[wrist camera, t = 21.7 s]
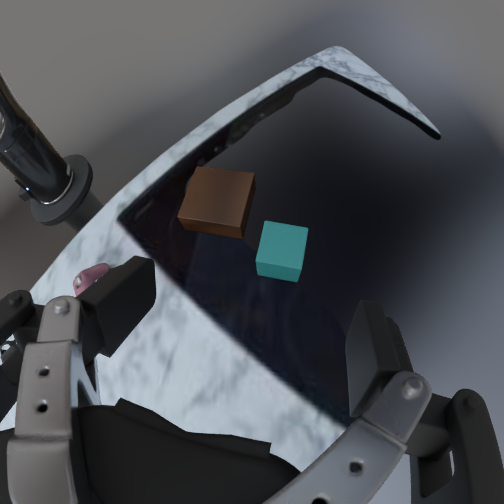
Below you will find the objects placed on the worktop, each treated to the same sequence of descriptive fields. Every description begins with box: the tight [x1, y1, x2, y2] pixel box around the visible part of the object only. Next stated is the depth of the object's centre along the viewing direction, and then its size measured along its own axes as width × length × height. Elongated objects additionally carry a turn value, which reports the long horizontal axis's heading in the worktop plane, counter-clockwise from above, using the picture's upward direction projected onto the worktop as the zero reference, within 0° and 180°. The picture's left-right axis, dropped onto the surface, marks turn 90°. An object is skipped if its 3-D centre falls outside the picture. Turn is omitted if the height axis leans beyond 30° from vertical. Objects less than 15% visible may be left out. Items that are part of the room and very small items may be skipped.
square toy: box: [256, 221, 308, 282], centre depth 37 cm, size 6×6×6 cm
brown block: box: [178, 167, 256, 239], centre depth 41 cm, size 9×9×4 cm
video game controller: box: [73, 263, 109, 297], centre depth 36 cm, size 10×5×7 cm, turn 42°
